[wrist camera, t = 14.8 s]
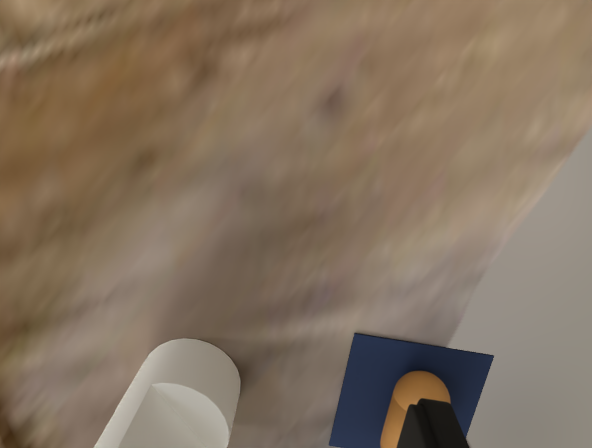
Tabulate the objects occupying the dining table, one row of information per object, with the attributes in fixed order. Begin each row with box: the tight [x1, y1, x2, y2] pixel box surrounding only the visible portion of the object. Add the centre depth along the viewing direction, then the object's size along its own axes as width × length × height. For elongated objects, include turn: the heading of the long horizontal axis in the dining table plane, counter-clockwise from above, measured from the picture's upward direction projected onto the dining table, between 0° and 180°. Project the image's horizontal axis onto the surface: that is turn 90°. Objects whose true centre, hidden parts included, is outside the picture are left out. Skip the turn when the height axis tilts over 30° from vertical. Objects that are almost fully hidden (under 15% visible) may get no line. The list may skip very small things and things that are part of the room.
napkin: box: [329, 333, 494, 448], centre depth 40 cm, size 12×12×1 cm
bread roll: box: [380, 371, 451, 448], centre depth 38 cm, size 9×5×5 cm, turn 171°
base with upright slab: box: [94, 338, 241, 448], centre depth 35 cm, size 9×9×12 cm
